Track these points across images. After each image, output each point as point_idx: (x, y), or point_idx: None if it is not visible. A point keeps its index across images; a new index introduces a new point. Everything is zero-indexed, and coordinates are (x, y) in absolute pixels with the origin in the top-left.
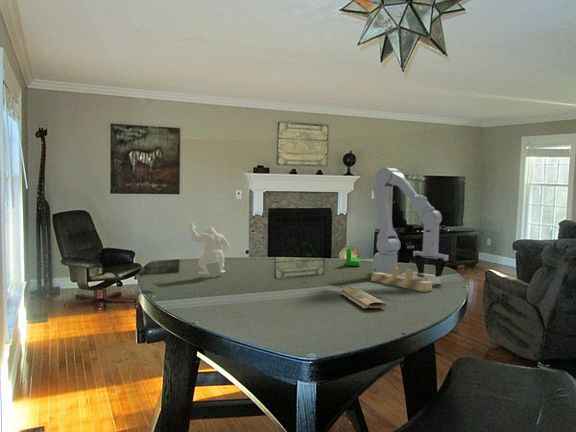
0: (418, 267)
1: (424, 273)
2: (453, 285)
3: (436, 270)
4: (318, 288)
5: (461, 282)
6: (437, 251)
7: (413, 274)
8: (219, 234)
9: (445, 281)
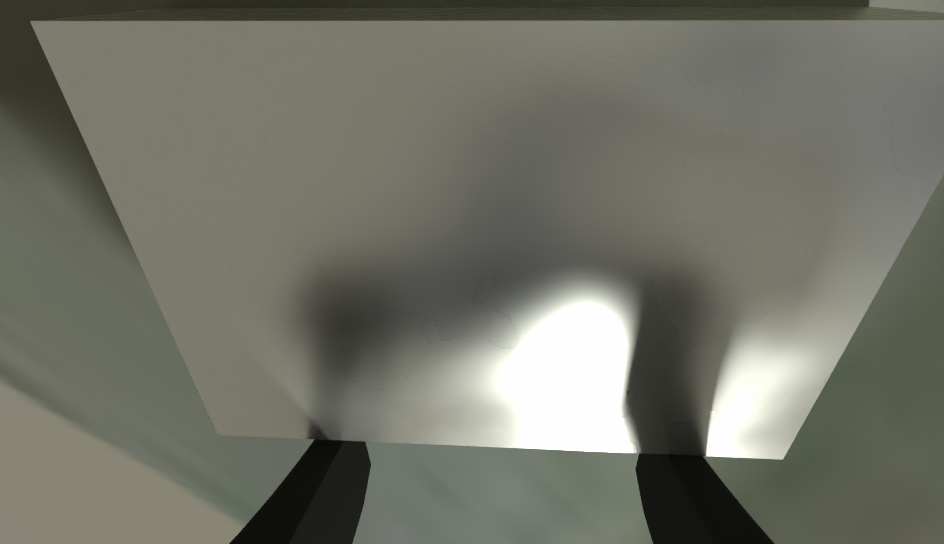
0: (733, 542)
1: (549, 439)
2: (123, 376)
3: (279, 528)
4: None
5: None
6: None
7: (633, 176)
8: None
9: None
